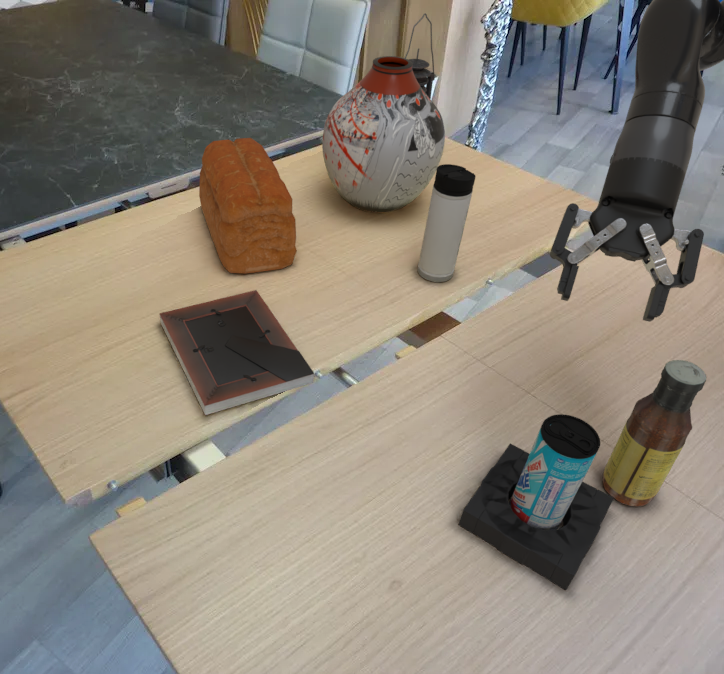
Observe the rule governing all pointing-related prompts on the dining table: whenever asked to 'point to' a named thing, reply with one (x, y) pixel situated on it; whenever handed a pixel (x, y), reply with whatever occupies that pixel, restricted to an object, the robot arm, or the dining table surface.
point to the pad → (523, 542)
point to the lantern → (423, 66)
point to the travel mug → (445, 222)
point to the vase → (383, 138)
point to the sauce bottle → (653, 435)
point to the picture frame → (234, 351)
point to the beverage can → (554, 471)
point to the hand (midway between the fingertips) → (606, 309)
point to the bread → (246, 207)
